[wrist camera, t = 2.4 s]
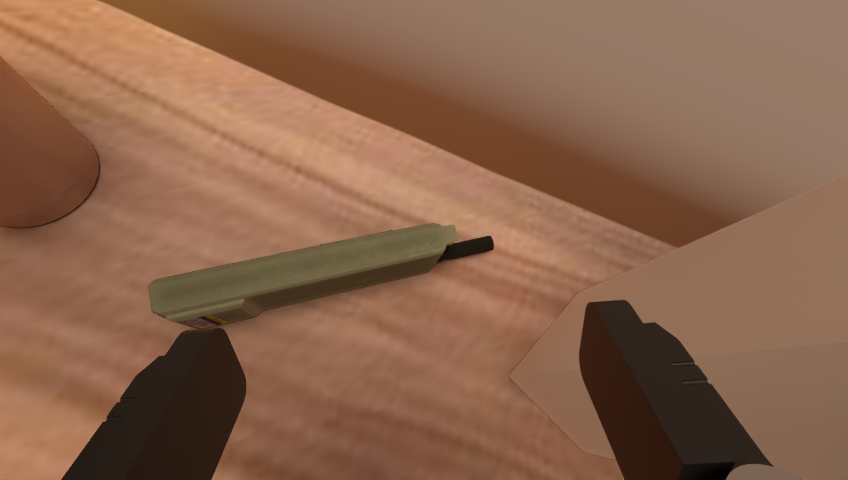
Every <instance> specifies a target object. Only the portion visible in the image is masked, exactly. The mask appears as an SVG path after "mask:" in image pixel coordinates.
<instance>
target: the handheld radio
mask: <svg viewBox="0 0 848 480" xmlns="http://www.w3.org/2000/svg"><path fill="white" fill-rule="evenodd" d="M455 241H458V236H457V233H456V229H455V225H449V226H440V225H439V224H435V223H432V224H425V225H420V226H415V227H410V228H405V229H400V230H395V231H393V230H390V231H386V232H381V233H376V234H371V235H366V236H362V237H357V238H352V239H347V240H342V241H337V242H332V243H327V244H321V245H319V246H314V247H309V248H304V249H299V250H295V251H290V252H285V253H280V254H275V255H271V256H266V257H261V258H256V259H251V260H246V261H242V262H237V263H232V264H227V265H222V266H218V267H213V268H208V269H203V270H198V271H194V272H189V273H184V274H179V275H174V276H170V277H165V278H160V279H157V280H154V281H153V282H152V283H151V284H150V285H149V286H148V289H149V296H150V304H151V310H152V312H153V313H155V314H157V315H158V316H160V317H163V318H166V319H168V320H170V321H173V322H177V323H180V324H183V325H186V326H190V327H193V328H196V329H205V328H209V327H213V326H218V325H222V324H226V323H230V322H235V321H239V320H243V319H247V318H252V317H255V316H257V315H259V314H260V312H261V311H264V310H268V309H273V308H277V307H281V306H286V305H290V304H294V303H299V302H303V301H307V300H312V299H316V298H320V297H324V296H329V295H333V294H337V293H342V292H346V291H350V290H355V289H359V288H363V287H368V286H372V285H376V284H380V283H385V282H389V281H393V280H398V279H402V278H406V277H411V276H415V275H419V274H424V273H427V272H429V271H430V270H431V268H432V267H433V266H434V264H436V263H438V262H442V260H447V259H455V258H459V257H464V256H468V255H473V254H477V253H481V252H486V251H490V250H493V248H494V243H493V240H492V238H491V236H486V237H481V238H477V239H472V240H467V241H463V242H458V243H454V242H455Z"/></svg>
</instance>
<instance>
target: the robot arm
mask: <svg viewBox="0 0 848 480" xmlns="http://www.w3.org/2000/svg"><path fill="white" fill-rule="evenodd" d="M98 172H99V161H98V156H97V153H96V151H95V149H94V147H93V145H92V144H91V143H90V142H89V141H88V140H87V139H86V138H85V137H84V136H83V135H82V134H81V133H80V132H79V131H78V130H77V129H76V128H75V127H74V126H73V125H72V124H71V123H69V122H68V121H67V120H66V119H65V118H64V117H63V116H62V115H61V114H60V113H59V112H58V111H57V110H56V109H55V108H54V107H53V106H52V105H51V104H50V103H49V102H48V101H47V100H46V99H45V98H44V97H43V96H41V95H40V94H39V93H38V92H37V91H36V90H35V89H34V88H33V87H32V86H31V85H30V84H29V83H28V82H27V81H26V80H25V79H24V78H23V77H22V76H20V75H19V74H18V73H17V72H16V71H15V70H14V69H13V68H12V67H11V66H10V65H9V64H8V63H7V62H6V61H5V60H4V59H3V58H2V57H1V56H0V225H1V226H6V227H32V226H38V225H42V224H45V223H48V222H51V221H54V220H57V219H58V218H60V217H62V216H64V215H66V214H68V213H69V212H71V211H72V210H73V209H75V208H76V207H77V206H79V205H80V204H81V203H82V202H83V201H84V200H85V199H86V197H87V196H88V195H89V194H90V192H91V190H92V189H93V187H94V186H95V183H96V180H97V177H98ZM579 365H580V371H581V375H582V378H583V381H584V384H585V386H586V389H587V391H588V393H589V396H590V398H591V401H592V403H593V405H594V408H595V410H596V412H597V415H598V417H599V420H600V422H601V424H602V427H603V429H604V431H605V434H606V436H607V439H608V441H609V443H610V446H611V448H612V451H613V453H614V455H615V458H616V460H617V462H618V465H619V467H620V470H621V472H622V474H623V477H624V479H625V480H802V479H800V478H798V477H797V476H795V475H793V474H791V473H789V472H787V471H784V470H781V469H779V468H776V467H774V466H773V465H772V464H771V463H770V462H769V461H768V459H767V458H766V457H765V456H764V454H763V453H762V452H761V450H760V449H759V448H758V446H757V445H756V443H755V442H754V441H753V439H752V438H751V437H750V435H749V434H748V433H747V431H746V430H745V429H744V427H743V426H742V425H741V423H740V422H739V420H738V419H737V418H736V416H735V415H734V414H733V412H732V411H731V410H730V408H729V407H728V406H727V404H726V403H725V402H724V400H723V399H722V397H721V396H720V395H719V393H718V392H717V391H716V389H715V388H714V387H713V385H712V384H709V383H708V379H707V377H706V376H705V374H704V373H703V372H702V370H701V369H700V368H699V366H698V365H695V363H694V360H693V358H692V357H691V356H690V354H689V353H688V351H687V350H686V349H685V347H684V346H683V345H682V343H681V342H680V341H679V339H677V338H676V337H675V336H673V335H672V334H671V333H669V332H668V331H666V330H665V329H664V328H662V327H661V326H660V325H658V324H657V323H656V322H652V323H643V322H642V321H641V319H640V318H639V316H638V315H637V313H636V312H635V310H634V309H633V307H632V306H631V304H630V303H629V302H628V301H626V300H613V301H599V302H589V303H588V304H587V306H586V309H585V315H584V322H583V329H582V336H581V342H580V349H579ZM245 394H246V379H245V375H244V372H243V370H242V367H241V365H240V363H239V361H238V358H237V356H236V354H235V352H234V349H233V347H232V345H231V342H230V340H229V338H228V336H227V334H226V332H225V331H224V330H223V329H221V328H212V329H198V330H186V331H184V332H182V333H181V334H180V335H179V336H178V337H177V339H176V340H175V342H174V343H173V345H172V346H171V348H170V349H169V350H168V352H167V353H166V355H165V356H159V357H158V358H157V359H155V360H154V361H153V362H152V363H151V364H150V365H148V366H147V367H146V368H145V369H144V370H142V371H141V372H140V373H139V374H138V375H137V376H136V377H135V378H134V380H133V381H132V382H131V384H130V385H129V387H128V388H127V389H126V391H125V392H124V394H123V395H122V396H121V398H120V399H121V400H120V402H119V403H116V405H115V406H114V407H113V409H112V410H111V412H110V413H109V414H108V416H107V420H106V422H103V423H102V424H101V425H100V427H99V428H98V430H97V431H96V432H95V434H94V435H93V436H92V438H91V439H90V441H89V442H88V443H87V445H86V446H85V448H84V449H83V450H82V452H81V453H80V454H79V456H78V457H77V459H76V460H75V461H74V463H73V464H72V466H71V467H70V468H69V470H68V471H67V472H66V474H65V475H64V477H63V478H62V479H61V480H211V479H212V477H213V475H214V472H215V470H216V467H217V465H218V463H219V460H220V458H221V455H222V453H223V451H224V448H225V446H226V443H227V441H228V439H229V436H230V434H231V431H232V429H233V427H234V424H235V422H236V419H237V417H238V415H239V412H240V410H241V407H242V405H243V402H244V399H245Z"/></svg>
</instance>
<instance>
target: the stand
mask: <svg viewBox="0 0 848 480" xmlns="http://www.w3.org/2000/svg"><path fill="white" fill-rule="evenodd" d="M613 300H626V301H628V302H629V303H630V304H631V306H632V307H633V309H634V310H635V312H636V313H637V315H638V316H639V318H640V319H641V321H642V322H643V323H652V322H656V323H657V324H658V325H660V326H661V327H662V328H664V329H665V330H666V331H668V332H669V333H671V334H672V335H673V336H675V337H676V338H677V339H679V341H680V342H681V343H682V345H683V346H684V347H685V349H686V350H687V351H688V353H689V354H690V356H691V357H692V358H693V360H694V363H695V365H698V366H699V368H700V369H701V370H702V372H703V373H704V374H705V376H706V377H707V379H708V383H709V384H712V385H713V387H714V388H715V389H716V391H717V392H718V393H719V395H720V396H721V397H722V399H723V400H724V402H725V403H726V404H727V406H728V407H729V408H730V410H731V411H732V412H733V414H734V415H735V416H736V418H737V419H738V420H739V422H740V423H741V425H742V426H743V427H744V429H745V430H746V431H747V433H748V434H749V435H750V437H751V438H752V439H753V441H754V442H755V443H756V445H757V446H758V448H759V449H760V450H761V452H762V453H763V454H764V456H765V457H766V458H767V459H768V461H769V462H770V463H771V464H772V465H773V466H774V467H776V468H779V469H781V470H784V471H787V472H789V473H791V474H793V475H795V476H797V477H798V478H800V479H802V480H848V174H845V175H843V176H841V177H839V178H836V179H834V180H832V181H829V182H827V183H825V184H823V185H820V186H818V187H816V188H814V189H811V190H809V191H807V192H805V193H802V194H800V195H798V196H796V197H793V198H791V199H789V200H787V201H784V202H782V203H780V204H777V205H775V206H773V207H771V208H768V209H766V210H764V211H762V212H759V213H757V214H755V215H753V216H750V217H748V218H746V219H744V220H741V221H739V222H737V223H735V224H732V225H730V226H728V227H725V228H723V229H721V230H719V231H716V232H714V233H712V234H710V235H707V236H705V237H703V238H701V239H698V240H696V241H694V242H692V243H690V244H687V245H685V246H682V247H680V248H678V249H676V250H673V251H671V252H669V253H667V254H664V255H662V256H660V257H658V258H655V259H653V260H651V261H649V262H646V263H644V264H642V265H640V266H637V267H635V268H633V269H630V270H628V271H626V272H624V273H621V274H619V275H617V276H615V277H612V278H610V279H608V280H606V281H603V282H601V283H599V284H597V285H594V286H592V287H590V288H588V289H585V290H583V291H581V292H578V293H577V294H576V296H575V297H574V298H573V299H572V300H571V302H570V303H569V304H568V305H567V306H566V308H565V309H564V310H563V311H562V312H561V314H560V315H559V316H558V317H557V318H556V320H555V321H554V322H553V323H552V324H551V326H550V327H549V328H548V329H547V330H546V332H545V333H544V334H543V335H542V336H541V338H540V339H539V340H538V341H537V343H536V344H535V345H534V346H533V347H532V349H531V350H530V351H529V352H528V353H527V355H526V356H525V357H524V358H523V359H522V361H521V362H520V363H519V364H518V365H517V367H516V368H515V369H514V370H513V371H512V373H511V374H510V375H509V376H508V377H509V378H510V379H511V380H512V381H513V382H514V383H515V384H516V385H517V386H518V387H519V388H520V389H521V390H522V391H523V392H524V393H525V394H526V395H527V396H528V397H529V398H530V399H531V400H532V401H533V402H534V403H535V404H536V405H537V406H538V407H539V408H540V409H541V410H542V411H543V412H544V413H545V414H546V415H547V416H548V417H549V418H550V419H551V420H552V421H553V422H554V423H555V424H556V425H557V426H558V427H559V428H560V429H561V430H562V431H563V432H564V433H565V434H566V435H567V436H568V437H569V438H570V439H571V440H572V441H573V442H574V443H575V444H576V445H577V446H578V447H579V448H580V449H581V450H582V451H583V452H587V453H590V454H594V455H598V456H602V457H606V458H610V459H614V460H616V458H615V455H614V453H613V451H612V448H611V446H610V443H609V441H608V439H607V436H606V434H605V431H604V429H603V427H602V424H601V422H600V420H599V417H598V415H597V412H596V410H595V408H594V405H593V403H592V401H591V398H590V396H589V393H588V391H587V389H586V386H585V384H584V381H583V378H582V375H581V371H580V365H579V349H580V342H581V336H582V329H583V322H584V315H585V309H586V306H587V304H588V303H589V302H599V301H613Z"/></svg>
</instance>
